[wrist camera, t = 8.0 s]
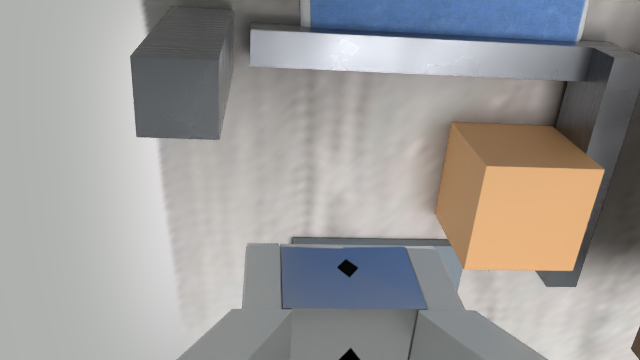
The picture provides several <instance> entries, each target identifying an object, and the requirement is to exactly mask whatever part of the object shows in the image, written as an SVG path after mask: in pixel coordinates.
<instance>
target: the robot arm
mask: <svg viewBox="0 0 640 360" xmlns="http://www.w3.org/2000/svg"><path fill="white" fill-rule="evenodd" d="M177 360H548V359H546V358H545V357H543V356H542V355H540V354H539V353H537V352H536V351H535V350H533V349H532V348H530V347H529V346H527V345H526V344H524V343H523V342H521V341H520V340H518V339H517V338H515V337H514V336H512V335H511V334H509V333H508V332H506V331H505V330H503V329H502V328H500V327H499V326H497V325H496V324H494V323H493V322H491V321H490V320H488V319H487V318H485V317H484V316H482V315H481V314H479V313H478V312H476V311H472V310H465V308H464V306H463V304H462V302H461V299H460V297H459V295H458V293H457V291H456V289H455V286H454V284H453V282H452V280H451V278H450V276H449V274H448V271H447V269H446V267H445V265H444V263H443V261H442V258H441V256H440V254H439V252H438V250H437V248H435V247H434V246H403V247H342V246H327V245H301V244H280V246H279V244H278V243H248V244H247V247H246V256H245V271H244V285H243V300H242V309H232V310H231V311H230V312H228V313H227V314H226V315H225V316H224V317H223V318H222V319H221V320H220V321H219V322H217V323H216V324H215V325H214V326H213V327H212V328H211V329H210V330H209V331H208V332H206V333H205V334H204V335H203V336H202V337H201V338H200V339H199V340H198V341H197V342H195V343H194V344H193V345H192V346H191V347H190V348H189V349H188V350H187V351H186V352H184V353H183V354H182V355H181V356H180V357H179V358H178V359H177Z"/></svg>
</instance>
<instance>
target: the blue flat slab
mask: <svg viewBox="0 0 640 360" xmlns="http://www.w3.org/2000/svg"><path fill="white" fill-rule="evenodd" d="M588 4H589V0H300V17H301V26H305V27H313V28H332V29H351V30H369V31H388V32H407V33H425V34H444V35H462V36H480V37H499V38H517V39H536V40H554V41H573V42H576V41H580V39H581V37H582V34H583V30H584V25H585V20H586V14H587V9H588Z"/></svg>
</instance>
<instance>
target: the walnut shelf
mask: <svg viewBox="0 0 640 360" xmlns="http://www.w3.org/2000/svg"><path fill="white" fill-rule="evenodd" d="M631 350H632V351H633V352H634V353H635V355H636V356H637V357H638V358H639V360H640V327H639V330H638V332H637V335H636V337H635V340H634V342H633V345H632V347H631Z"/></svg>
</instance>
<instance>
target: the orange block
mask: <svg viewBox="0 0 640 360" xmlns="http://www.w3.org/2000/svg"><path fill="white" fill-rule="evenodd" d="M604 171H605V169H604V168H602V167H601V166H600V165H599V164H598V163H596V162H595V161H594V160H593V159H591V158H590V157H589V156H588V155H587V154H585V153H584V152H583V151H582V150H581V149H579V148H578V147H577V146H576V145H575V144H573V143H572V142H571V141H570V140H568V139H567V138H566V137H565V136H564V135H562V134H561V133H560V132H559V131H558V130H556V129H555V128H554V127H553V126H544V125H517V124H490V123H464V122H451V127H450V133H449V138H448V144H447V149H446V155H445V160H444V166H443V171H442V177H441V182H440V188H439V193H438V199H437V204H436V210H435V215H436V217H437V219H438V221H439V222H440V224H441V226H442V228H443V230H444V232H445V234H446V236H447V238H448V240H449V242H450V244H451V246H452V248H453V249H454V251H455V253H456V255H457V257H458V259H459V261H460V263H461V265H462V267H463V269H464V270H541V271H573V268H574V265H575V262H576V259H577V256H578V253H579V249H580V246H581V243H582V240H583V237H584V234H585V231H586V227H587V224H588V221H589V218H590V215H591V212H592V209H593V205H594V202H595V199H596V196H597V193H598V190H599V187H600V183H601V180H602V177H603V174H604Z"/></svg>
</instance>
